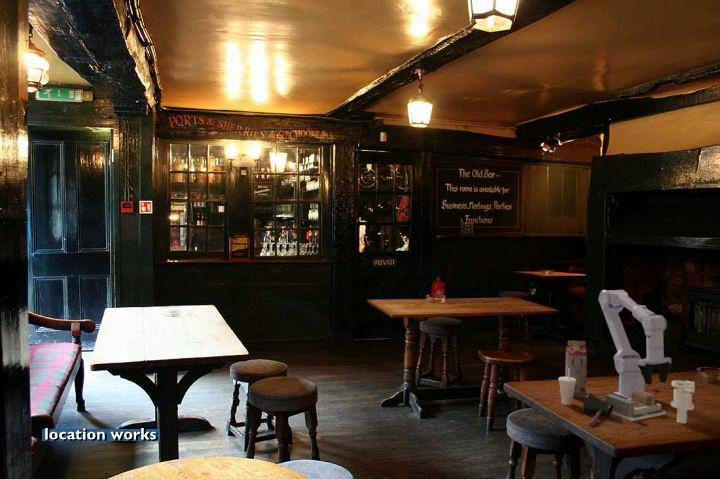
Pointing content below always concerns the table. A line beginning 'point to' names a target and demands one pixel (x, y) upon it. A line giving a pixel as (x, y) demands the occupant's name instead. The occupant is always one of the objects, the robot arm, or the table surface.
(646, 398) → the gauge slider
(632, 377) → the robot arm
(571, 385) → the smoothie
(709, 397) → the table surface
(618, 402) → the gauge base
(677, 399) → the white stepped post
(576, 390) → the juice carton
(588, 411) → the coffee pot
